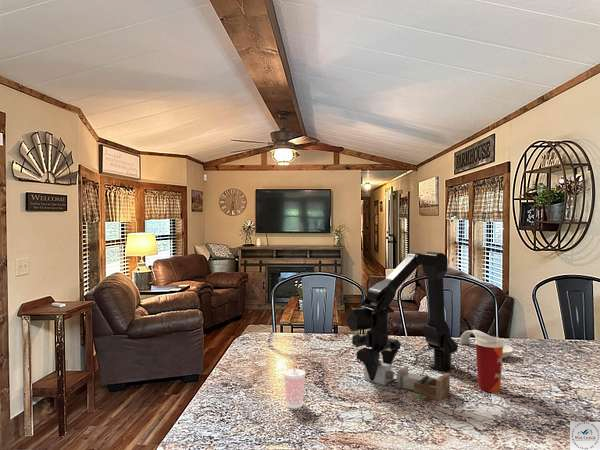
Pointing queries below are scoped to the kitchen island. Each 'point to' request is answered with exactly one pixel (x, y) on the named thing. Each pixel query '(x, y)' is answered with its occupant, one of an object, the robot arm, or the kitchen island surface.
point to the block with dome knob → (381, 374)
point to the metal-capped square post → (411, 379)
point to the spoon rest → (466, 335)
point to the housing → (432, 389)
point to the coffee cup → (489, 362)
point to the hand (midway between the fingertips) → (379, 376)
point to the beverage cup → (294, 386)
